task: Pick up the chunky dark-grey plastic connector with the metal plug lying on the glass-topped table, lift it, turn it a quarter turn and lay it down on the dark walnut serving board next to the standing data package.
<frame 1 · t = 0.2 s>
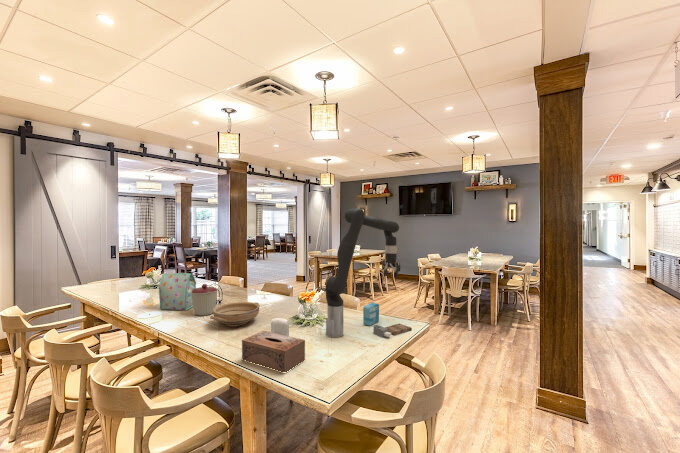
hand: (390, 276, 205), 29 cm above the table, tool pointing down, fingers open, 8 cm apart
data package: (371, 323, 200), on the table
ceramic bowl: (236, 323, 201), on the table
photo printer: (280, 341, 171), on the table
canister: (204, 313, 221), on the table
connector: (381, 335, 179), on the table
tissue box cover: (273, 361, 146), on the table
lunch bag: (178, 308, 236), on the table
walnut board: (396, 330, 186), on the table
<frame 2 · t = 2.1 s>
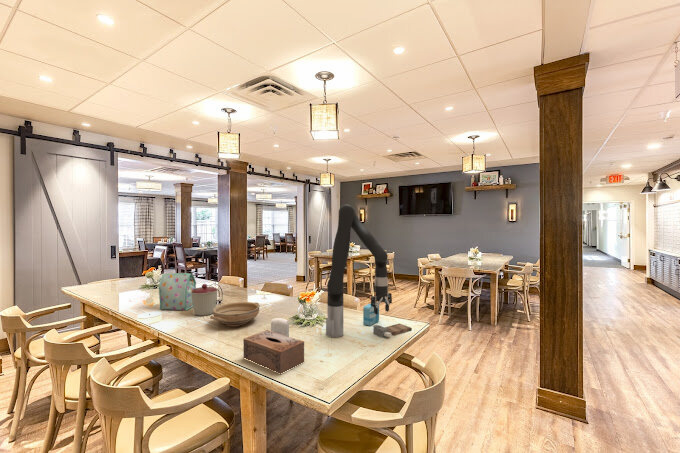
hand: (381, 312, 179), 13 cm above the table, tool pointing down, fingers open, 8 cm apart
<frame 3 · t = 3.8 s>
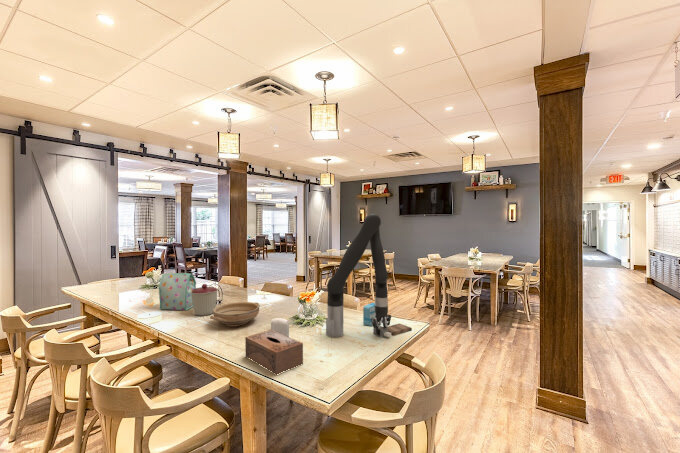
hand: (381, 334, 179), 1 cm above the table, tool pointing down, fingers closed on connector, 4 cm apart
connector: (381, 335, 179), on the table, touching gripper
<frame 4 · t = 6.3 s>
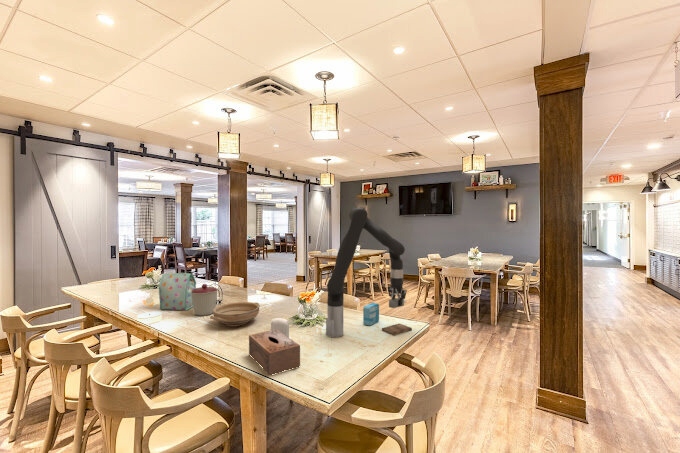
hand: (396, 305, 186), 15 cm above the table, tool pointing down, fingers closed on connector, 4 cm apart
connector: (396, 305, 186), point 15 cm above the table, touching gripper
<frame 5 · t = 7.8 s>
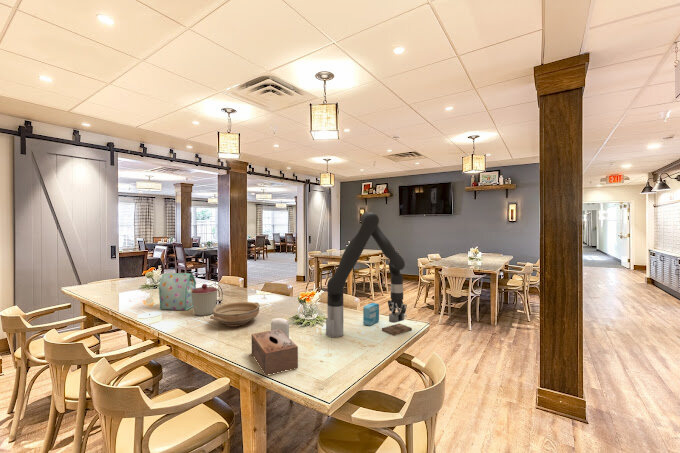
hand: (397, 319, 186), 7 cm above the table, tool pointing down, fingers closed on connector, 4 cm apart
connector: (397, 320, 186), point 6 cm above the table, touching gripper
when the fingers open (3 cm above the table, at t = 9.0 s): connector stays where it is, resting on walnut board.
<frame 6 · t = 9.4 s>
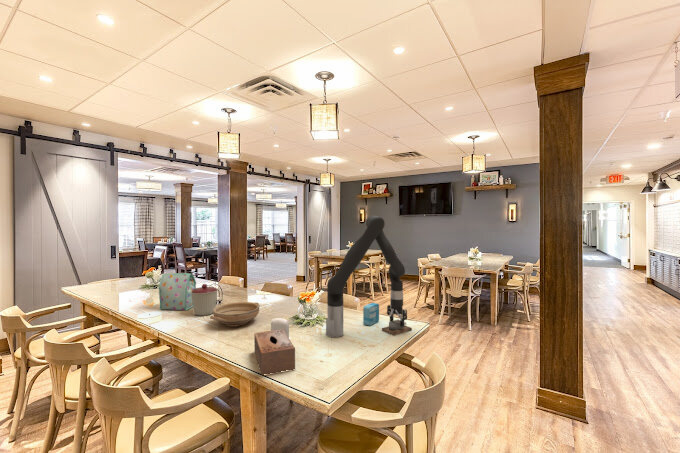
hand: (396, 324, 186), 4 cm above the table, tool pointing down, fingers open, 8 cm apart
connector: (396, 328, 186), point 1 cm above the table, touching walnut board
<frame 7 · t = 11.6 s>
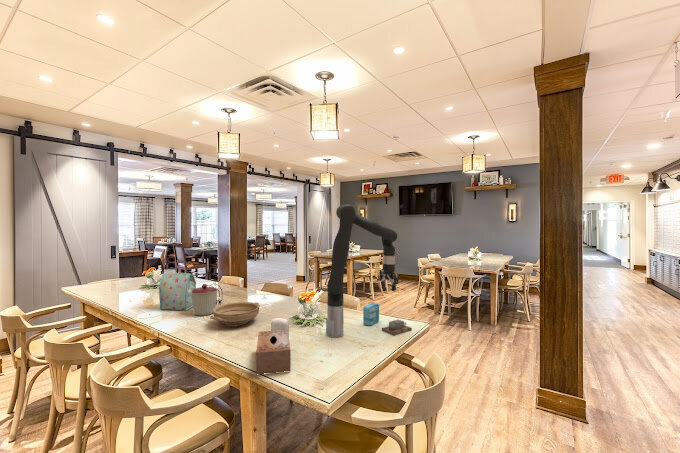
hand: (388, 289, 189), 24 cm above the table, tool pointing down, fingers open, 8 cm apart
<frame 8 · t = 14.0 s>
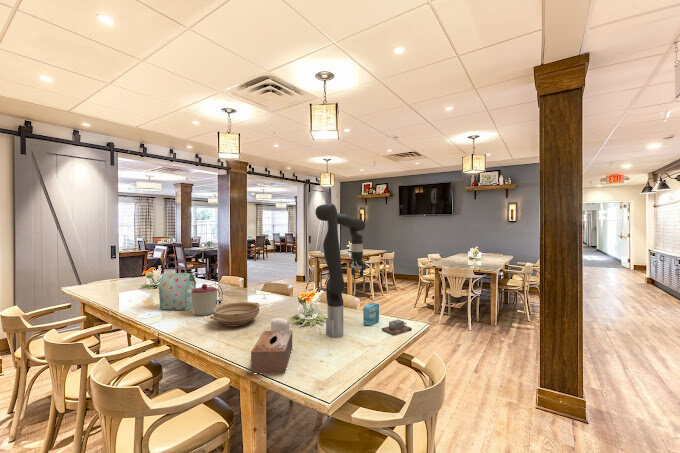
hand: (357, 275, 201), 30 cm above the table, tool pointing down, fingers open, 8 cm apart
at the end: connector inside the target area on the walnut board (0.1 cm from its centre), point 1.5 cm above the walnut board's base; connector tilted 0°; the gripper is holding nothing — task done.
